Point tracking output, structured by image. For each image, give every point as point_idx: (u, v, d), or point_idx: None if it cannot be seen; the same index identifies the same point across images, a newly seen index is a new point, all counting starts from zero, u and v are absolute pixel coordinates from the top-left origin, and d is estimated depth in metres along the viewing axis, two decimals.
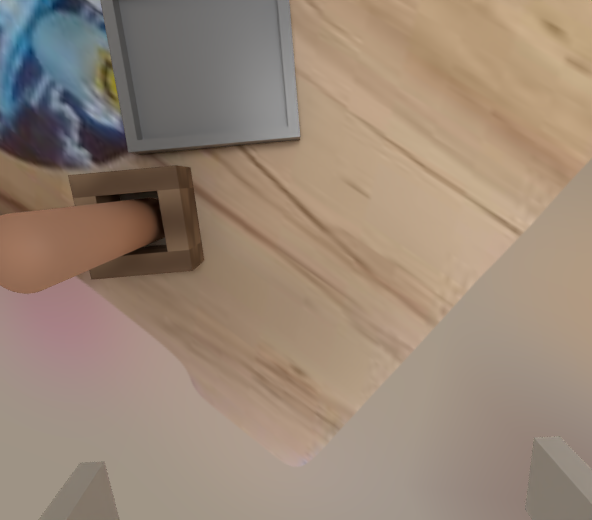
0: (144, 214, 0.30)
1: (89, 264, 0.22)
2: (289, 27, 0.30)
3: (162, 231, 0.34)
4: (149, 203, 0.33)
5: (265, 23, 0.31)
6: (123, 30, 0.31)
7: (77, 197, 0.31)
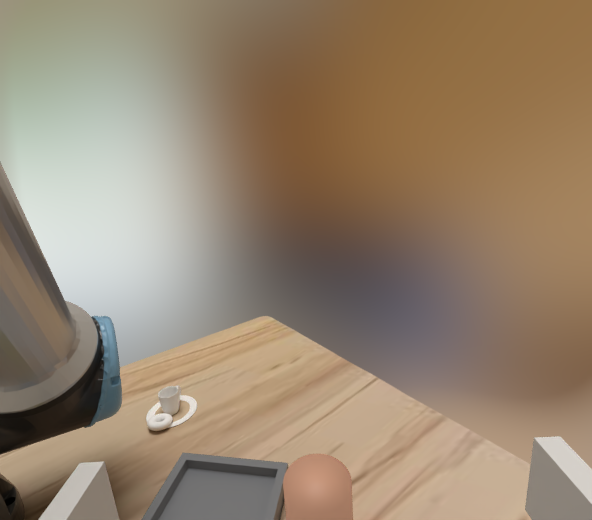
0: None
1: None
2: (218, 457, 0.45)
3: None
4: None
5: (205, 478, 0.43)
6: None
7: None
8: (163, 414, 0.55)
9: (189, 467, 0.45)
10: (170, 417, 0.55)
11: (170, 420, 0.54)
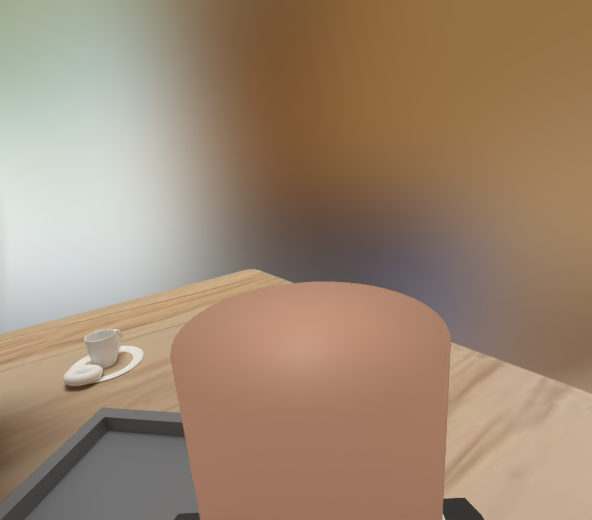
0: None
1: None
2: (155, 412, 0.28)
3: None
4: None
5: (130, 445, 0.26)
6: None
7: None
8: (90, 365, 0.39)
9: (109, 429, 0.28)
10: (99, 368, 0.38)
11: (98, 372, 0.37)
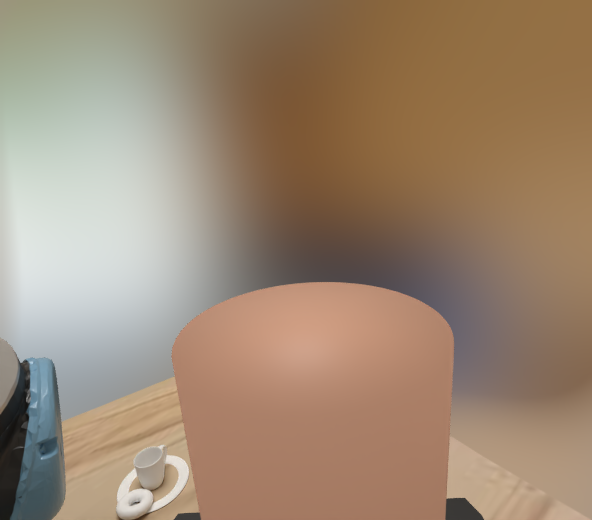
0: None
1: None
2: None
3: None
4: None
5: None
6: None
7: None
8: (140, 491, 0.39)
9: None
10: (150, 496, 0.38)
11: (149, 502, 0.38)
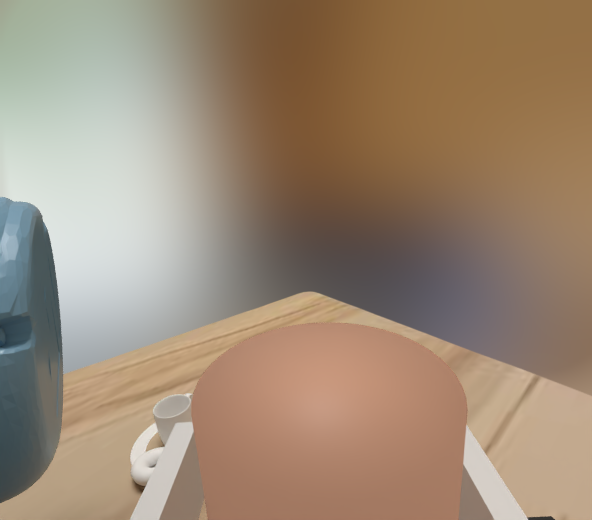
0: None
1: None
2: None
3: None
4: None
5: None
6: None
7: None
8: None
9: None
10: None
11: None
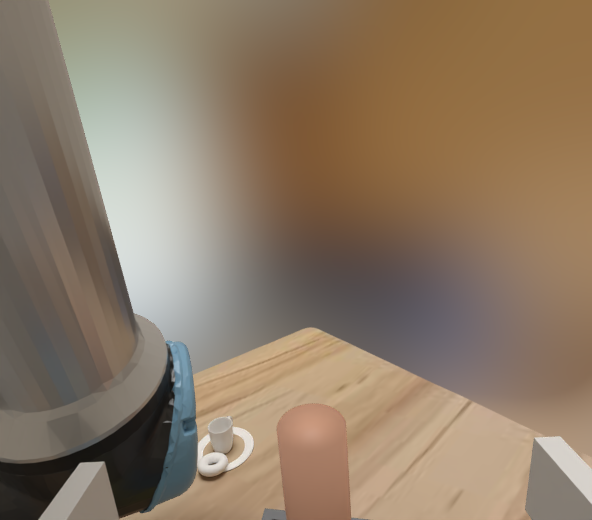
0: None
1: None
2: None
3: None
4: None
5: None
6: None
7: None
8: (215, 454, 0.45)
9: None
10: (225, 458, 0.44)
11: (226, 462, 0.43)
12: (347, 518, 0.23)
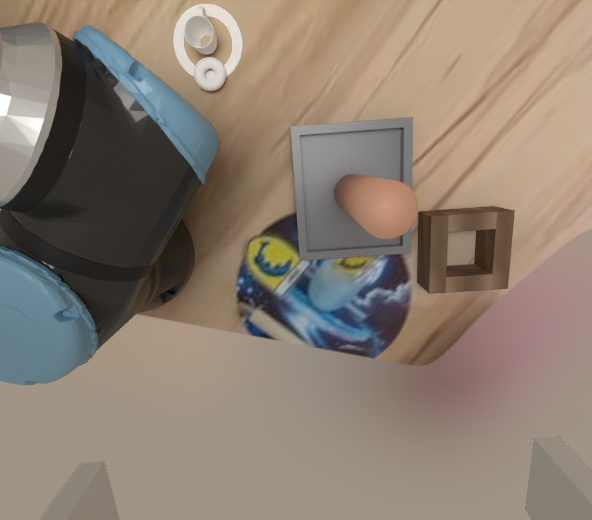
0: (351, 178, 0.37)
1: None
2: (333, 124, 0.40)
3: None
4: (340, 183, 0.40)
5: (324, 145, 0.42)
6: (326, 248, 0.45)
7: (445, 289, 0.43)
8: (207, 62, 0.40)
9: (301, 135, 0.42)
10: (221, 66, 0.40)
11: (224, 71, 0.40)
12: None
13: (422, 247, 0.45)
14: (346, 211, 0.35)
